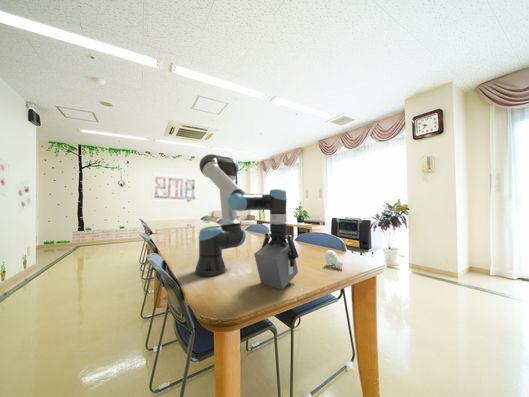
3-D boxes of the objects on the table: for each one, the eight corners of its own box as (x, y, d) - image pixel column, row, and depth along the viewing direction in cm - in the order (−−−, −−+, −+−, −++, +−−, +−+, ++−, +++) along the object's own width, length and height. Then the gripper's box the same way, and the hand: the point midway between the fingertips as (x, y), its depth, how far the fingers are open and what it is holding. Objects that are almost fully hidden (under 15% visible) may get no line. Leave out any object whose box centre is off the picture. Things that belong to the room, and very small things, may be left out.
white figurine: (332, 248, 122) (347, 255, 110) (331, 262, 122) (346, 270, 111) (323, 249, 120) (337, 256, 108) (323, 263, 120) (336, 272, 109)
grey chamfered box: (260, 282, 92) (254, 253, 89) (277, 267, 101) (271, 240, 98) (282, 289, 84) (276, 258, 81) (298, 272, 94) (292, 243, 91)
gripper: (253, 222, 98) (253, 267, 97) (297, 225, 82) (297, 279, 82) (263, 221, 104) (263, 263, 103) (306, 224, 88) (306, 274, 87)
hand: (278, 270), depth 92 cm, fingers closed on grey chamfered box, 12 cm apart
